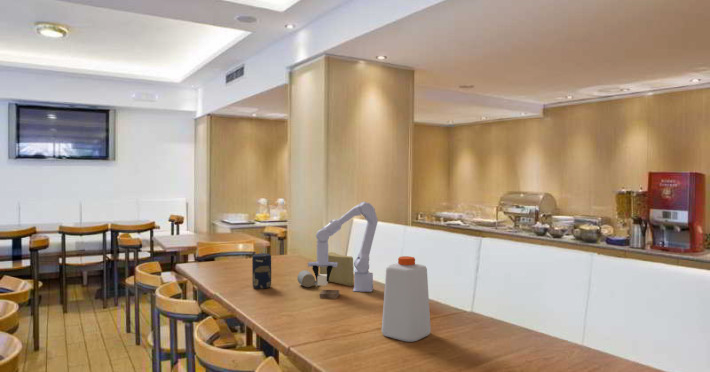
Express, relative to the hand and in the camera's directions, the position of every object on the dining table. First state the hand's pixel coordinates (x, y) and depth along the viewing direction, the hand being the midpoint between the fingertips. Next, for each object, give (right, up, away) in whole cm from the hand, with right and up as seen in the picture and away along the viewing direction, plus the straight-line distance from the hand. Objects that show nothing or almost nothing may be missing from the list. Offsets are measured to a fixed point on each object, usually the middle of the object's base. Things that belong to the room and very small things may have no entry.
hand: (322, 281), depth 237 cm
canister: (-32, -5, +7) cm, 33 cm away
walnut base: (+4, -6, -9) cm, 12 cm away
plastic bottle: (+34, -7, -64) cm, 73 cm away
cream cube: (0, -2, 0) cm, 2 cm away
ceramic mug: (-8, -5, +12) cm, 15 cm away
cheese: (+7, -5, +20) cm, 22 cm away
